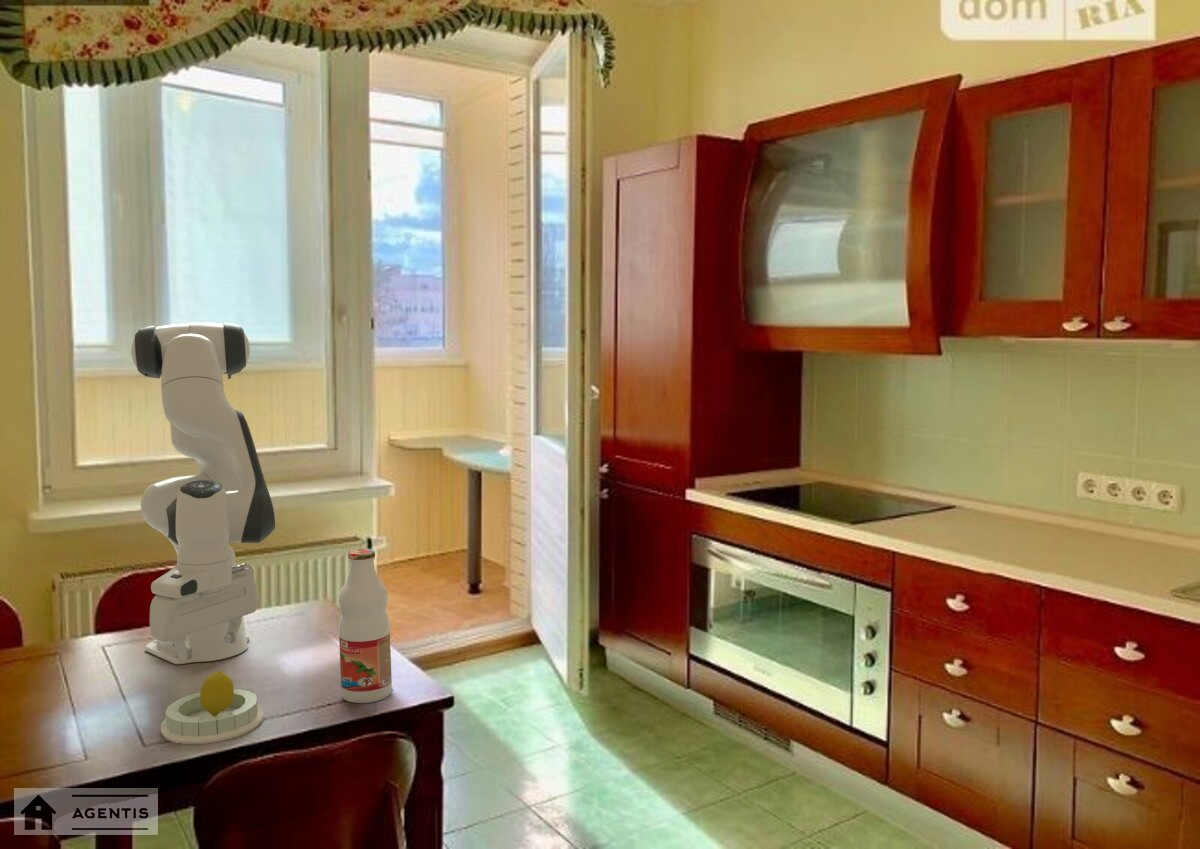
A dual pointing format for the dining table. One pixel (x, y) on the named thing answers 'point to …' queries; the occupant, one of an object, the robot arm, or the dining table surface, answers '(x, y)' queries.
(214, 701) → the lemon
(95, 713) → the dining table surface
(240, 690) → the ceramic dish
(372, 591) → the fruit juice
